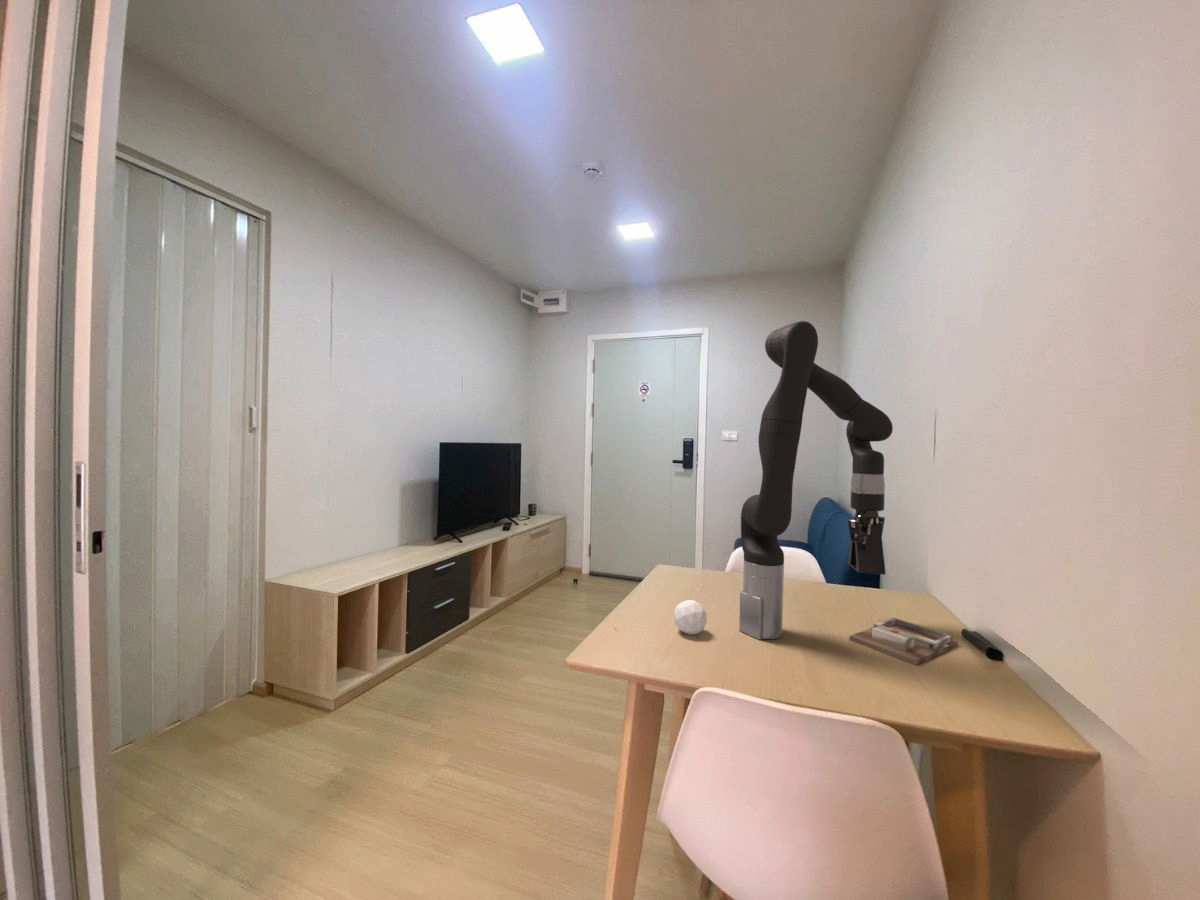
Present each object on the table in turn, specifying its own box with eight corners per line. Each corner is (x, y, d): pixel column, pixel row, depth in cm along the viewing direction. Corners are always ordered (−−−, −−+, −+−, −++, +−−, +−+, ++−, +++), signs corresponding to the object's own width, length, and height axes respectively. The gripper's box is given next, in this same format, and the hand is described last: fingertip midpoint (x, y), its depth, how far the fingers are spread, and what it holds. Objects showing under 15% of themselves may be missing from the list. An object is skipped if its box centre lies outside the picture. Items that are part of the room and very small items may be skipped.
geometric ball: (690, 647, 105) (681, 627, 101) (672, 624, 112) (664, 603, 108) (716, 630, 106) (709, 609, 102) (697, 608, 113) (690, 587, 109)
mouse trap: (916, 665, 93) (916, 647, 93) (849, 639, 105) (849, 624, 105) (958, 645, 103) (958, 629, 103) (893, 624, 115) (893, 610, 115)
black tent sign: (885, 574, 110) (886, 526, 110) (858, 572, 112) (859, 525, 112) (872, 565, 119) (873, 521, 119) (848, 564, 120) (848, 519, 120)
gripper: (866, 489, 122) (865, 551, 122) (837, 490, 115) (836, 557, 115) (896, 491, 116) (895, 557, 116) (868, 493, 108) (866, 563, 108)
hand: (865, 556), depth 115 cm, fingers closed on black tent sign, 4 cm apart
